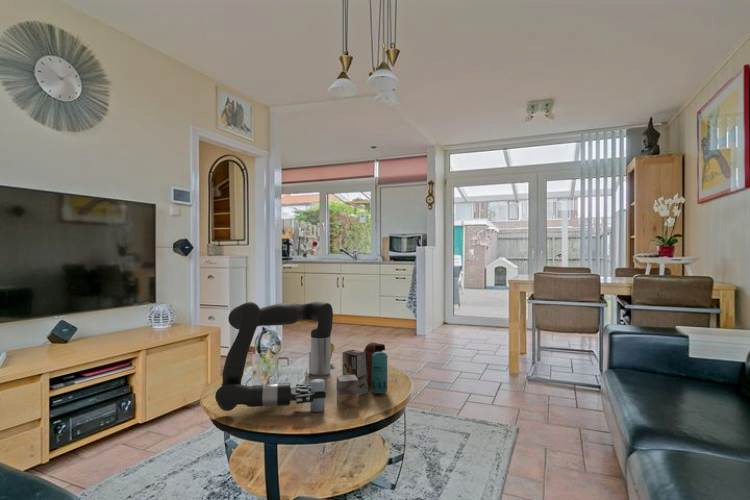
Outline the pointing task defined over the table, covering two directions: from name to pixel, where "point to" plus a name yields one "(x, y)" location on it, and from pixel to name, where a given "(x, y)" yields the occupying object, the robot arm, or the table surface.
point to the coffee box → (356, 368)
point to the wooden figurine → (370, 359)
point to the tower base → (347, 400)
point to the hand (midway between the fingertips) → (324, 391)
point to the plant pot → (331, 350)
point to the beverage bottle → (379, 370)
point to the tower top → (347, 384)
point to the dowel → (319, 402)
